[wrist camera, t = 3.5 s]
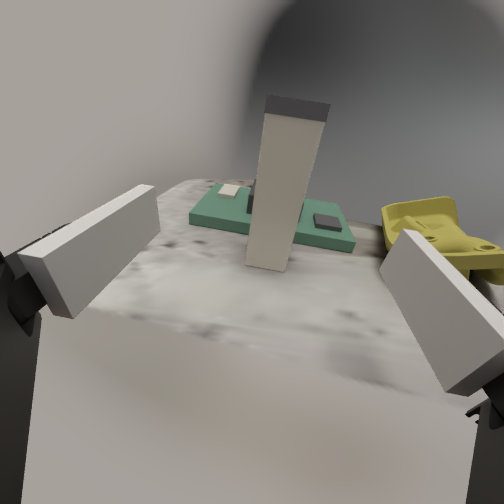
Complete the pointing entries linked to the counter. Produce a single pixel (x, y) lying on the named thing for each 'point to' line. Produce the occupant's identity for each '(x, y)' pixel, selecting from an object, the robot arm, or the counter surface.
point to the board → (240, 211)
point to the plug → (283, 177)
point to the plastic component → (444, 236)
